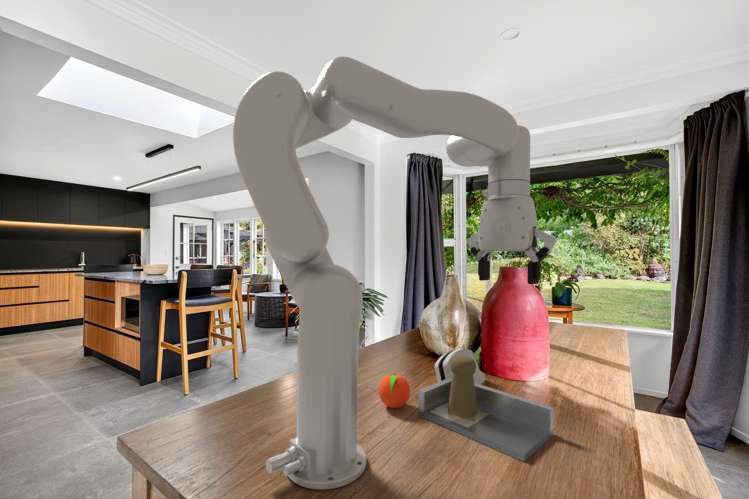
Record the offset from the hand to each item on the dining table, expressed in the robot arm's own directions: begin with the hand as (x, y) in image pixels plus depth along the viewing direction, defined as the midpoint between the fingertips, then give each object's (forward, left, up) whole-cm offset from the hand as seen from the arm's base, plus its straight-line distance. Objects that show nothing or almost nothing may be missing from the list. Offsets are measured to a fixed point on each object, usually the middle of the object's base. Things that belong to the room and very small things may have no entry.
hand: (507, 281), depth 68 cm
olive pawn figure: (-2, +9, -27) cm, 29 cm away
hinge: (+13, +19, -29) cm, 36 cm away
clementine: (-9, +21, -29) cm, 37 cm away
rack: (-2, +4, -28) cm, 29 cm away
